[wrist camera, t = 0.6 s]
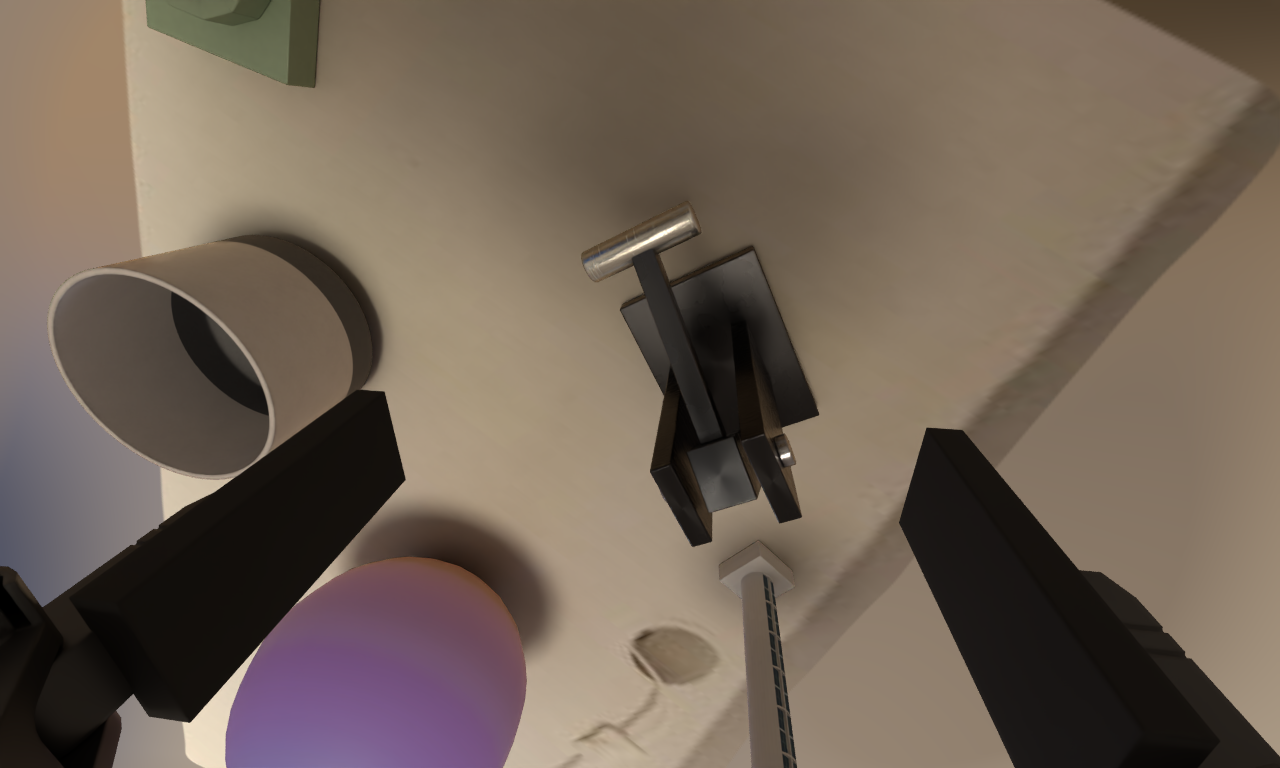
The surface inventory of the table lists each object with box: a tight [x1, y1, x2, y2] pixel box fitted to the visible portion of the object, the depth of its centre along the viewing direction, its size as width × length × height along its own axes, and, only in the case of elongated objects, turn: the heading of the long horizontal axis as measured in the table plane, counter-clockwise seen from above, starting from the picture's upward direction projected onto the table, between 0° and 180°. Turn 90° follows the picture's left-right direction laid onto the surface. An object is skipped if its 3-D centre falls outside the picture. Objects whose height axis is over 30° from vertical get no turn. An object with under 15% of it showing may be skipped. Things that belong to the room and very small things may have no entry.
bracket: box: [620, 246, 819, 547], centre depth 28 cm, size 12×9×15 cm
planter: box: [47, 235, 372, 480], centre depth 33 cm, size 13×13×10 cm
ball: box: [225, 557, 527, 768], centre depth 39 cm, size 20×20×20 cm
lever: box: [581, 201, 761, 513], centre depth 23 cm, size 13×6×2 cm, turn 27°
